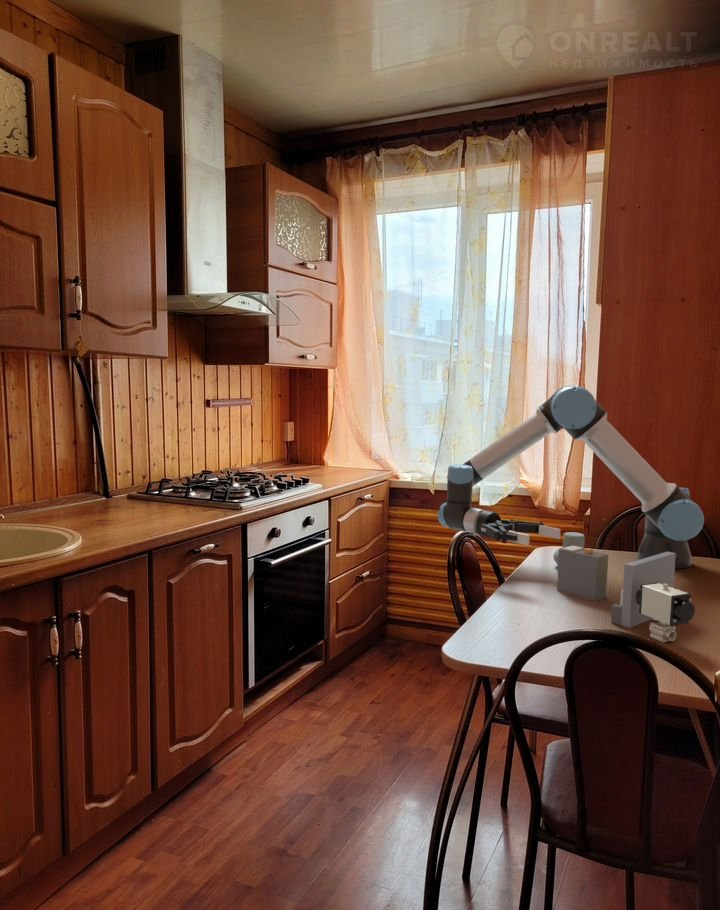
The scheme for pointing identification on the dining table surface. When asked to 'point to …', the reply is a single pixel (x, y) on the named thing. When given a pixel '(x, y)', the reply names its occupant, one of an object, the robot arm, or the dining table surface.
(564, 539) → the air freshener
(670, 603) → the pneumatic valve
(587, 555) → the block
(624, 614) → the rail panel
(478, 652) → the dining table surface
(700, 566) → the dining table surface
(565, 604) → the dining table surface
